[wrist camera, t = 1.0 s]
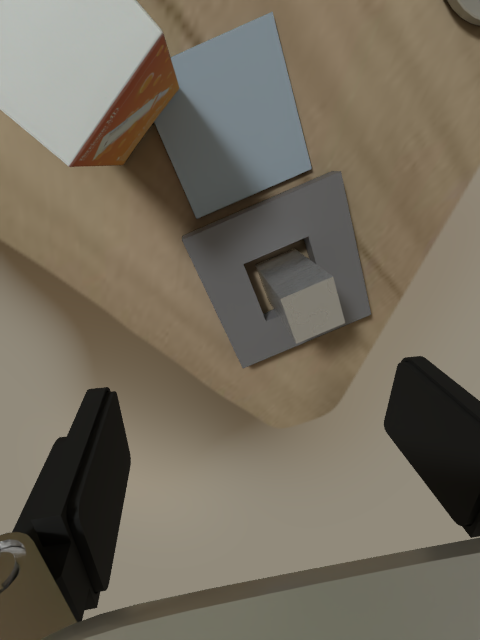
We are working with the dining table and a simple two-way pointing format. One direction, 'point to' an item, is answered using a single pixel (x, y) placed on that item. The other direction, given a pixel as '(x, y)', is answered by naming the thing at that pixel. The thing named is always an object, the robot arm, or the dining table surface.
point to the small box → (84, 75)
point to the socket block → (265, 237)
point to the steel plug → (301, 294)
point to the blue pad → (233, 118)
